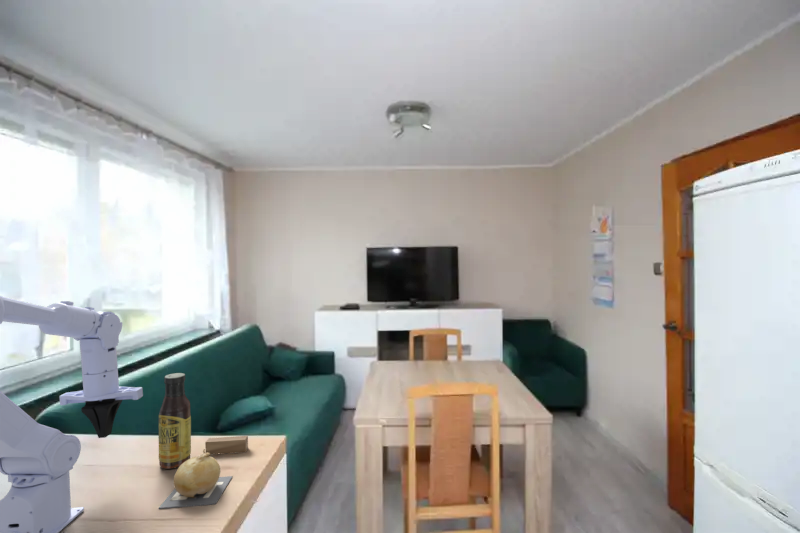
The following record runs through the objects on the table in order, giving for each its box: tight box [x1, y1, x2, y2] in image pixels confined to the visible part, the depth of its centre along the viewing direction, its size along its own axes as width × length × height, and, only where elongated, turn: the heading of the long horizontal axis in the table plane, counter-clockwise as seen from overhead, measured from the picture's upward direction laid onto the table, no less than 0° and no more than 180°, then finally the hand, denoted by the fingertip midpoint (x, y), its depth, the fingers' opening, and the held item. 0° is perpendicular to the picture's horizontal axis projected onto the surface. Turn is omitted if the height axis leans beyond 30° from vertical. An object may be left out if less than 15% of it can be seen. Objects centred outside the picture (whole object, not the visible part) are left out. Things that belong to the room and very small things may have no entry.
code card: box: [158, 475, 233, 510], centre depth 75 cm, size 9×10×1 cm
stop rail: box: [204, 435, 249, 455], centre depth 91 cm, size 2×9×3 cm, turn 95°
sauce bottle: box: [158, 372, 192, 470], centre depth 86 cm, size 7×6×20 cm
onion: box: [173, 448, 221, 498], centre depth 75 cm, size 8×8×7 cm
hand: (105, 435), depth 79 cm, fingers closed
